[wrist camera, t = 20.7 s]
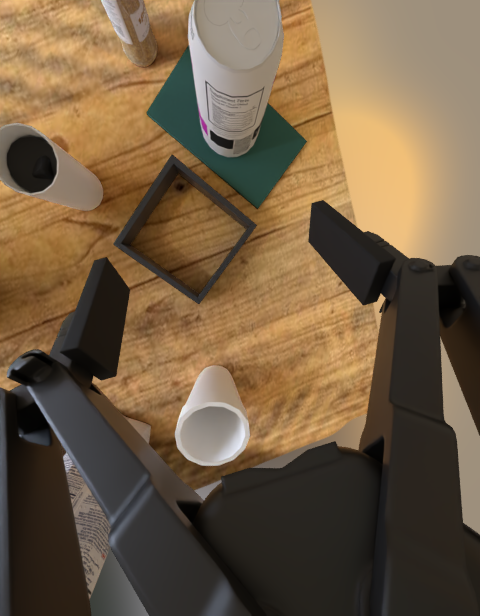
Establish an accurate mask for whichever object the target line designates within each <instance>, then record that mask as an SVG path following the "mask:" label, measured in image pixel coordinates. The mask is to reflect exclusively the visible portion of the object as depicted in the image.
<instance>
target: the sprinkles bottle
mask: <svg viewBox="0 0 480 616" xmlns="http://www.w3.org/2000/svg"><path fill="white" fill-rule="evenodd" d="M101 1H102V3H103V6H104V8H105V10H106V12H107V14H108V16H109V19H110V21H111V23H112V25H113V27H114V30H115V32H116V33H117V35H118V36H119V39H120V41H121V43H122V46H123V50H124V52H125V54H126V56H127V57H128V59H129V60H130V61H131V62H132V63H133V64H135V65H137V66H142V67H146V66H148V65H150V64H151V63H152V62H153V61H154V60H155V58H156V55H157V42H156V39H155V37H154V35H153V32H152V29H151V25H150V22H149V17H148V14H147V11H146V7H145V4H144V1H143V0H101Z"/></svg>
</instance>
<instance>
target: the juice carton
mask: <svg viewBox="0 0 480 616" xmlns="http://www.w3.org/2000/svg"><path fill="white" fill-rule="evenodd" d="M124 417H125V416H124ZM125 418H126V419H127V420H128V422H129V423H130V424H131V425H132V426H133V427H134V428H135V429H136V430H137V432H138V433H139V434H140V435H141V436H142V437H143V438H144V439H145V440H146V442H147V443H148V444H149V439H150V431H151V426H150V425H148V424H146V423H143V422H140V421H137V420H134V419H131V418H128V417H125ZM63 459H64V464H65V470H66V475H67V480H68V486H69V491H70V496H71V502H72V507H73V512H74V518H75V523H76V528H77V534H78V539H79V544H80V550H81V555H82V560H83V566H84V571H85V576H86V582H87V587H88V593H89V599H90V597H91V594H92V592H93V589H94V587H95V584H96V582H97V579H98V577H99V574H100V571H101V569H102V566H103V564H104V561H105V559H106V556H107V553H108V550H109V548H110V545H109V542H108V534H109V531H110V529H111V527H110V523H109V521H108V519H107V518H106V516H105V514H104V513H103V511H102V509H101V508H100V506H99V504H98V503H97V501H96V500H95V498H94V496H93V495H92V493H91V491H90V490H89V488H88V486H87V485H86V483H85V482H84V480H83V478H82V477H81V475H80V473H79V472H78V470H77V469H76V467H75V465H74V464H73V462H72V460H71V459H70V457H69V455H68V454H67V453H66V454H65V455H64V456H63Z"/></svg>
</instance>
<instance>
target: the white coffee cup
mask: <svg viewBox="0 0 480 616" xmlns="http://www.w3.org/2000/svg"><path fill="white" fill-rule="evenodd" d="M0 180H1V181H2V182H3V183H4V184H5V185H6V186H8V187H10V188H11V189H13V190H15V191H16V192H18V193H22V194H25V195H29V196H32V197H36V198H39V199H43V200H46V201H50V202H53V203H57V204H60V205H64V206H67V207H71V208H74V209H78V210H83V211H89V210H93V209H95V208H96V207H97V206H99V205H100V203H101V201H102V199H103V188H102V185H101V182H100V181H99V179H98V178H97V177H96V175H95V174H93V173H92V172H91V171H89V170H88V169H87V168H86V167H84V166H83V165H82V164H81V163H79V162H78V161H77V160H76V159H74V158H73V157H72V156H71V155H69V154H68V153H67V152H65V151H64V150H63V149H62V148H60V147H59V146H58V145H57V144H55V143H54V142H53V141H52V140H50V139H49V138H48V137H47V136H45V135H44V134H42V133H41V132H39V131H38V130H36V129H35V128H33V127H32V126H28V125H24V124H20V123H14V124H8V125H4V126H2V127H1V128H0Z"/></svg>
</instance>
